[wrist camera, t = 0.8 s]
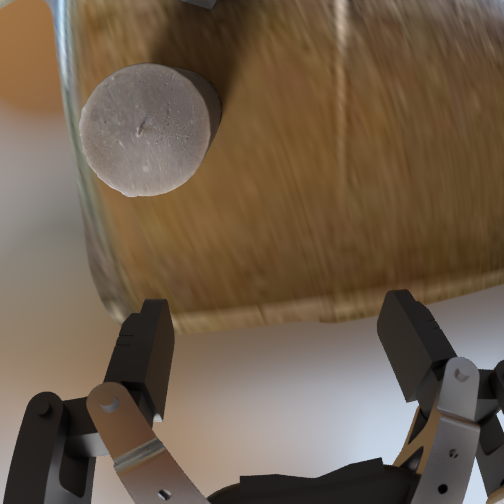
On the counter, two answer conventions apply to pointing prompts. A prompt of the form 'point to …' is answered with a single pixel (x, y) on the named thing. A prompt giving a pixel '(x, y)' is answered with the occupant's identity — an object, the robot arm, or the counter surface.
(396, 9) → the counter surface
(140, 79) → the pillar candle
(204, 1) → the console
